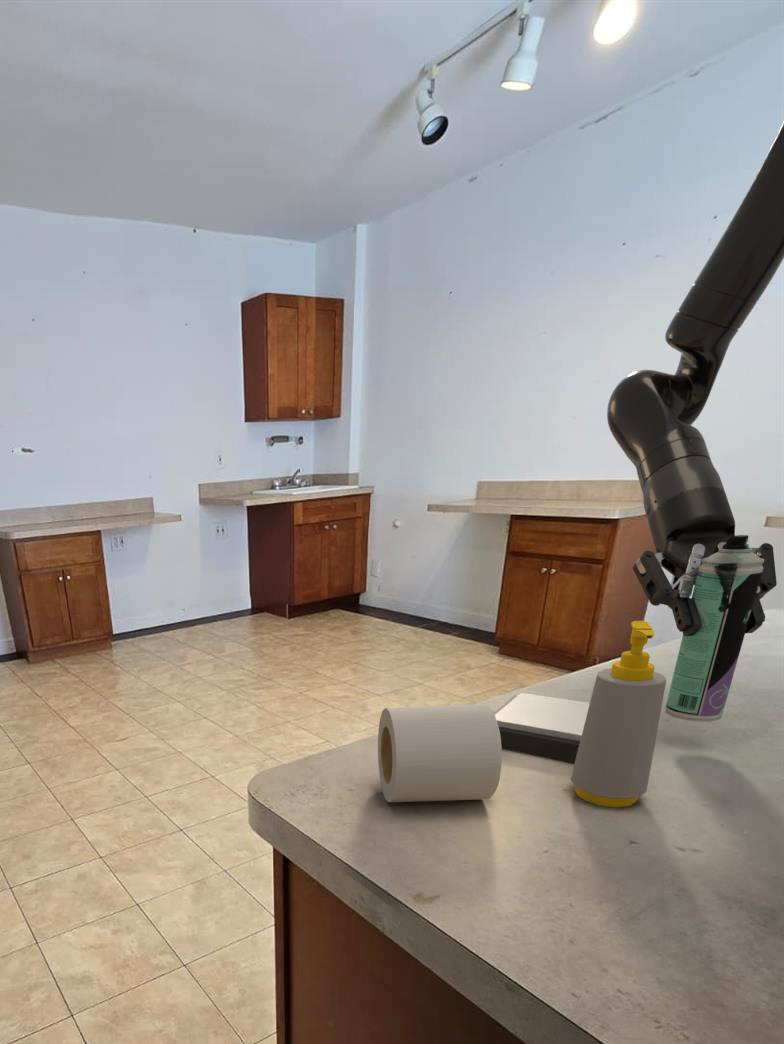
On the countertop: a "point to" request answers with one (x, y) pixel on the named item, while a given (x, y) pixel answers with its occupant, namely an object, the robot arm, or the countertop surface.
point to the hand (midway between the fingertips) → (723, 630)
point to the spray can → (715, 632)
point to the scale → (542, 726)
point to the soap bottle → (620, 728)
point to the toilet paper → (439, 753)
